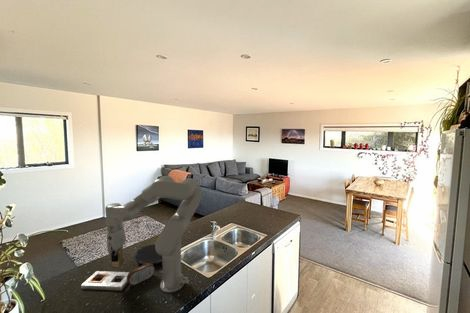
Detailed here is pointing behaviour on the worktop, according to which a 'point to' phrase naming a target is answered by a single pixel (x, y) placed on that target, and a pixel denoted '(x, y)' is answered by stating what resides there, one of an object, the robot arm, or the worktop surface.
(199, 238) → the worktop surface
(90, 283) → the rail plate
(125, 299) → the worktop surface
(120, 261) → the brass peg
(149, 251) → the bowl
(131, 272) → the tin
